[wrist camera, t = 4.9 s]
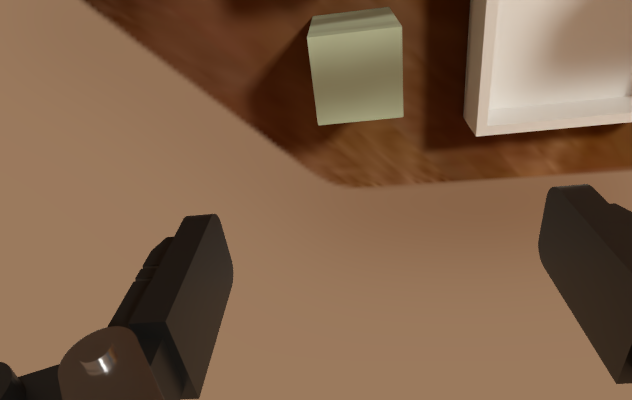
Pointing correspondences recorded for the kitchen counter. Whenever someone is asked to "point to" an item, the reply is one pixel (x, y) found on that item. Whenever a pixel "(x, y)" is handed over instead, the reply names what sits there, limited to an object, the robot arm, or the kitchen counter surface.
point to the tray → (547, 65)
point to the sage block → (356, 66)
